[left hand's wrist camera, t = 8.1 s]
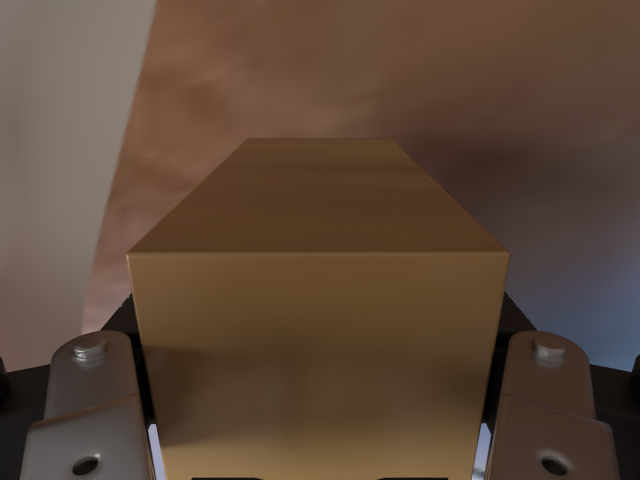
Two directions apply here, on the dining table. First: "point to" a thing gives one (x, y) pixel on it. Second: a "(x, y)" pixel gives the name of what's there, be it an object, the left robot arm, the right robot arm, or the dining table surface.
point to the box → (318, 317)
